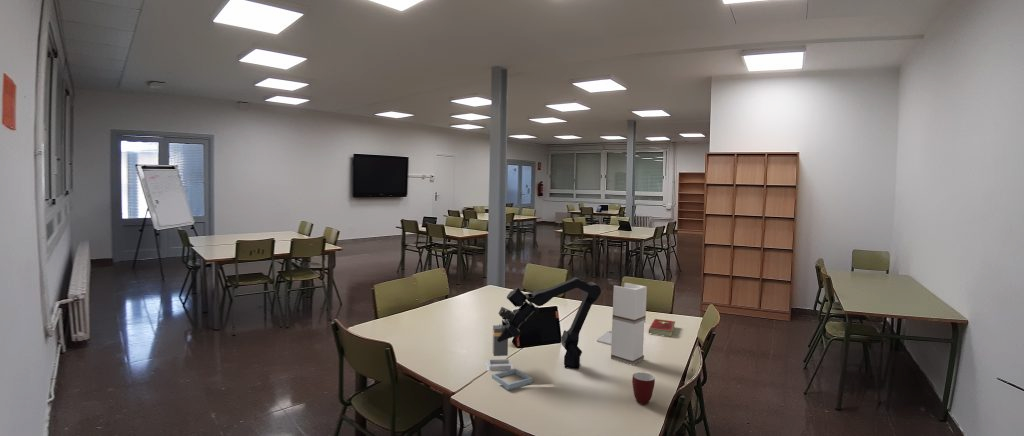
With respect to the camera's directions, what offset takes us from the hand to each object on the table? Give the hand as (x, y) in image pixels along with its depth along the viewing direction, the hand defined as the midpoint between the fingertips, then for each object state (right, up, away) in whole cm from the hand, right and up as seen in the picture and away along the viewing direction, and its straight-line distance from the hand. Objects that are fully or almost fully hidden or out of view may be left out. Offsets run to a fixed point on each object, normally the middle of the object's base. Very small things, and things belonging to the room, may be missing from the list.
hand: (497, 339), depth 207 cm
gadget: (+64, -13, +45) cm, 79 cm away
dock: (+1, -13, +2) cm, 14 cm away
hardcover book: (+93, -12, +64) cm, 113 cm away
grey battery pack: (+1, -7, +1) cm, 7 cm away
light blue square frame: (+6, -14, -13) cm, 20 cm away
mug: (+56, -17, -27) cm, 65 cm away
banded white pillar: (+61, -14, +17) cm, 65 cm away
